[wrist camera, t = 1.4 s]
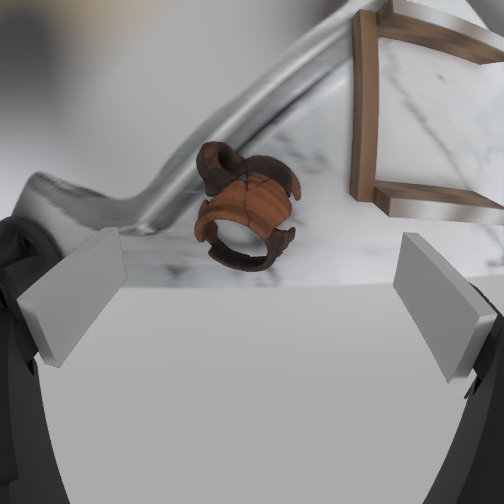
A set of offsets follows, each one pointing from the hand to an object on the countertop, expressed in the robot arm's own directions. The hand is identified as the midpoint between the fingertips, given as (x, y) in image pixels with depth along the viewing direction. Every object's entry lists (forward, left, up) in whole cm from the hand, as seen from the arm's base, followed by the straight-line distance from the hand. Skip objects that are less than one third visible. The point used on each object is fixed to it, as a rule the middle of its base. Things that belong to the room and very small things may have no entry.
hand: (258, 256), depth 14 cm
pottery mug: (-1, +1, -18) cm, 18 cm away
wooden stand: (+17, +8, -17) cm, 25 cm away
